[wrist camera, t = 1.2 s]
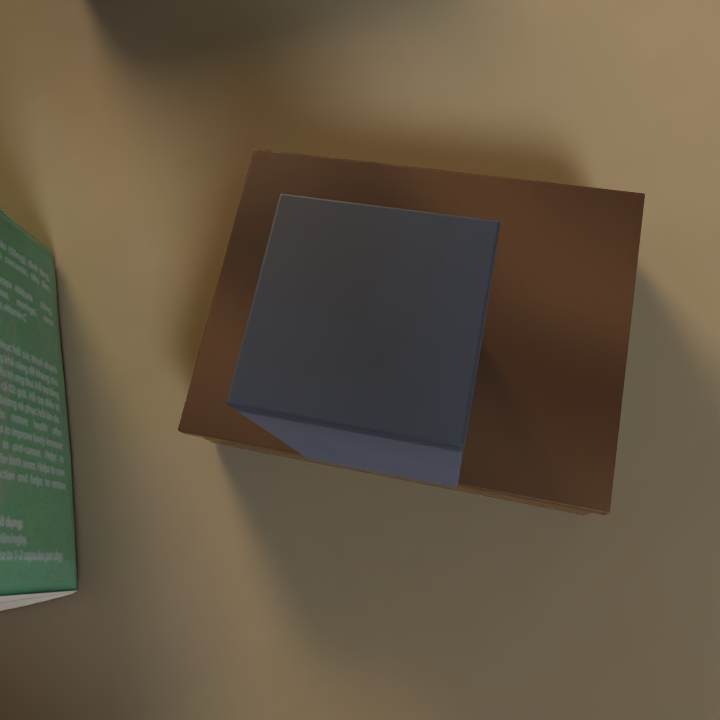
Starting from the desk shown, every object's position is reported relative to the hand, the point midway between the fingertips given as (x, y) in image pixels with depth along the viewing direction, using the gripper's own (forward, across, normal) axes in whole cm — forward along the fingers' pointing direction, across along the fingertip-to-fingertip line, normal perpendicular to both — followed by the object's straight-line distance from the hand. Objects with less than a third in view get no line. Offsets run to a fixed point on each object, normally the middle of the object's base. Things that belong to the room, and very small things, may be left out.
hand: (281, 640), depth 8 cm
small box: (+13, +1, +2) cm, 13 cm away
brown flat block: (+17, +1, +2) cm, 17 cm away
